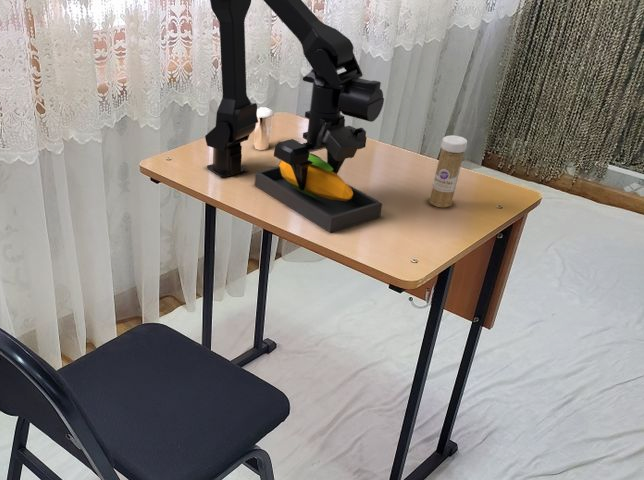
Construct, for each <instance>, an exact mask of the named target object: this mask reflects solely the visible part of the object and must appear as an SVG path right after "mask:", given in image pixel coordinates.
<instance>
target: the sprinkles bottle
mask: <svg viewBox="0 0 644 480" xmlns="http://www.w3.org/2000/svg"><path fill="white" fill-rule="evenodd" d="M467 146H468V140H467V138H465V137H463V136H460V135H446V136H444V137H443V138H442V141H441V144H440V152H439V153H440V154H439V157H438V161H437V166H436V171H435V172H434V178H433V181H432V188H431V192H430V196H429V199H428V202H429V204H430V205H432V206H434V207H436V208H448V207H451V206H453V199H454V194H455V191H456V187H457V184H458V181H459V180H458V179H459V175H460V172H461V167H462V163H463V158H464V155H465V151H466V150H467Z"/></svg>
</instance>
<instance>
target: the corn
mask: <svg viewBox="0 0 644 480" xmlns="http://www.w3.org/2000/svg"><path fill="white" fill-rule="evenodd" d="M308 160H309V161H311V162H313V163H312V164H311V165H310V166H309V167H308V171H307V179H306V185H305V189H304V190H305V191H304V190H303V191H302V190H300V189H299V186H298V183H297V180H296V178H295V175H294V172H293V170H292V167H291V165H289V164H287V163H286V162H284V161H282V160H280V163H279V165H278V166H280V170H279V171H280V173H281V176H282V177H283V178H284V180H285V181H286V182H287V183H288V184H290V185H291V186H292V187H294V188H295V189H297V190H299V191H301V192H303V193H305V194H307V195H309V196H312V197H314V198H316V197H315V196H314V195H317V196H320V197H323V198H326V199H329V200H340V201H347V200H350V199H352V196H353V191H352V189H351V188H350V187H349V186H348V185H349V184H348V183H347V182H345V181H344V180H343V178H341V176H339V175H338V173H337V174H336V173H334V172H333V171H332V170H334V169H333V168H332V167H331V166H330V165H329V164H328V163H327V161H325V160H323V159H322V158H321V157H319V156H318V155H316V154H314V153H312V152H310V153H309V158H308ZM347 184H348V185H347ZM306 191H307V192H306ZM308 192H309V193H308ZM310 193H311V194H310ZM312 194H313V195H312ZM316 199H318V198H316ZM319 200H320V199H319Z"/></svg>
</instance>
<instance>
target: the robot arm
mask: <svg viewBox="0 0 644 480" xmlns="http://www.w3.org/2000/svg"><path fill="white" fill-rule="evenodd" d="M209 2H210V8H211V10H212V12H213V14H214V16H215V17H216V19H217V21H218V25H219V44H220V45H219V46H220V66H221V67H220V68H221V69H220V70H221V88H222V89H221V90H222V91H221V92H222V98H221V100H220V103H219V105H218V108H217V111H216V113H215V115H216V116H215V126H214V127H213V128H212V129H211V130H210V131H209V132H208V133H206V134H205V136H204V139H205V142H206V146H207V147H210V148H212V149H213V151H212V163H211V164H207V165H206V169H208V170H210V172H212V173H214V174H216V175H217V176H219V177H220V178H227V177H231V176H235V175H239V174H242V173H243V174H244V173H246V172H247V168H245V167H244V166H242V157H243V154H242V150H243V149H242V148H243V146H242V143H243V142H247V141H248V140H249V138H250V135H251V134H252V133H253V132H254V130H255V127H256V123H258V119H257V109H258V103H256V102H253V103H252V102H251V99H250V98H249V96H248V94H247V63H246V61H247V59H246V27H245V26H246V25H245V21H246V17H247V15H248V12H249V10H250V7H251V4H252V0H209ZM263 2H264V3H265V4H266V5H267V6H268V8H270V10H271V11H272V12H273V13H274V14H275V15H276V16H277V17H278V18H279V20H280V21H281V22H282V23H283V24H284V25H285V26H286V27H287V28H288V30H289V31H290V32H292V34H293V35H294V36H295V38H297V41H299V43H300V45H301V47H302V52H303V56H304V58H305V59H306V60H307V62H308V63H309V65H310V67H311V69H310V71H309V72H308V73H307V74H306V75H305V76H303V77H302V81H303V82H306V83H310V84H312V87H311V98H310V105H309V110H307V111H304V118H306V119H308V125H307V131H305V132H303V133H302V139H304V140H306V142H303V143H301V142H299V141H297V140H295V139H294V138H291V139H287V140H283V141H278V142H277V143H276V144H275V145H274V151H273V157H275V158H277V159H278V160H279V161H284V162H286V163H287V164H289V165H291V167H292V170H293V172H294V175H295V178H296V180H297V183H298V186H299V189H300V190H302V191H303V190H304V189H305V185H306V179H307V171H308V167H309V166H310V165H311V164H312V163H313V162H311V161H309V160H308V158H309V153H313V152H317V151H322V150H326V162H327V163H328V164H329V165H330V166H331V167H332V168H333V169H334V170H332V171H333V172H334V173H336V174H337V175H338V173H339V171H340V169H341V167H342V166H343V163H344V162H345V160H346V159H352V158H354V157H355V155H356V153H357V152H358V150H361V149H364V148H365V149H366V146H367V145H366V144H367V131H366V130H365V129H364V128H363V127H358V128H356V127H353V126H351V125H346V124H345V123H346V119H345V116H348V117H352V118H355V119H359V120H363V121H366V122H369V123H370V122H371V123H372V122H374V121H375V120H377V118H378V117H379V116H380V114H381V111H382V109H383V106H384V104H385V103H384V102H385V98H384V92H383V90H382V88H381V86H382V85H381V84H382V82H380V81H379V80H369V79H364V78H362V77H363V72H362V69H361V68H360V65H359V63H358V61H357V58H356V56H355V53H354V48H355V47H354V44H353V43H352V41H351V40H350V39H349V38H348V37H347V36H346V35H344V34H343V33H342V32H341V31H339V30H338V29H337V28H334V27H332V26H330V25H327V24H325V22H322V21H321V19H320V18H318V17H317V15H315V14H314V13H313V11H312V10H311V8H309V7H308V6H307V5H306V3H304V2H303V0H263ZM342 69H344V71H342V72H339V73H338V71H340V70H342Z"/></svg>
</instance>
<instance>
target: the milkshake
mask: <svg viewBox="0 0 644 480" xmlns="http://www.w3.org/2000/svg"><path fill="white" fill-rule="evenodd" d="M274 114H275V113H274V111H273V110H272V109H271V108H269V107H264V106H260V107H259V108H257V119H258V123H256V127H255V130H253V132H254V133H253V136H254V139H253V140H254V148H255V149H256V150H259V151H265V150H268V149H269V147H270V146H269V145H270V138H271V132H272V126H273V121H274Z"/></svg>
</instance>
